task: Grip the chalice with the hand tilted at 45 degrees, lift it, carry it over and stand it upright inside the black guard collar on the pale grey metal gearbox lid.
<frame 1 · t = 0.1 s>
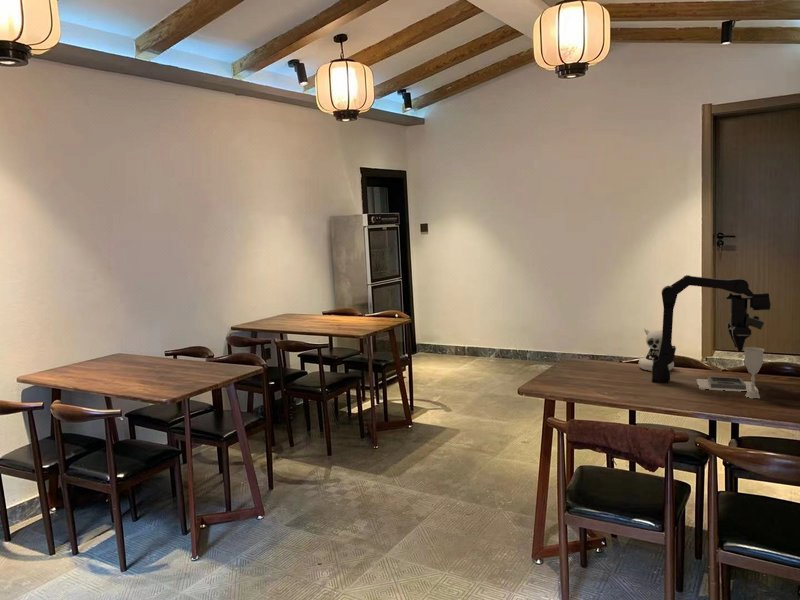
hand: (738, 349, 237), 15 cm above the table, tool pointing down, fingers open, 9 cm apart
decorative figurine: (656, 369, 270), on the table
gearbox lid: (726, 386, 237), on the table
chalice: (752, 397, 222), on the table
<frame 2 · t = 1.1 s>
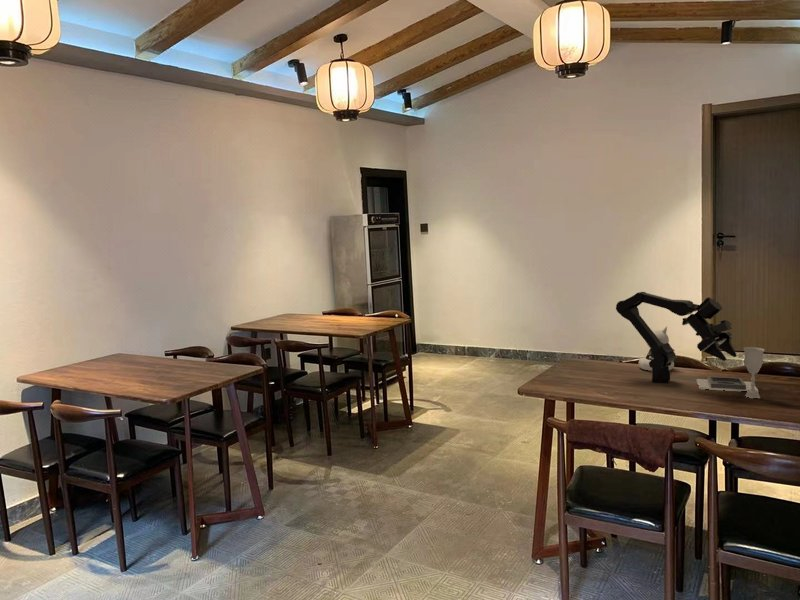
hand: (730, 358, 226), 13 cm above the table, tool tilted 45°, fingers open, 9 cm apart
nothing on the table moved.
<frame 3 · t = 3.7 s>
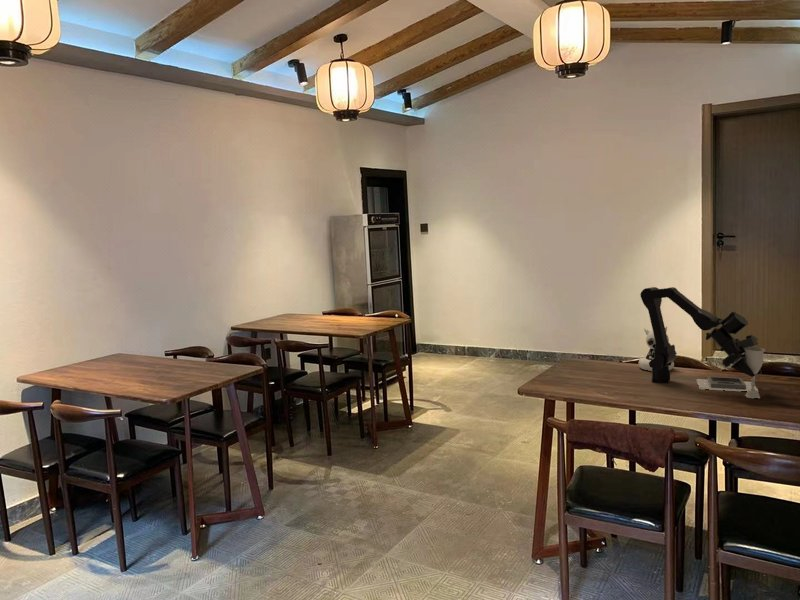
hand: (757, 374, 220), 9 cm above the table, tool tilted 45°, fingers closed on chalice, 6 cm apart
chalice: (752, 397, 222), on the table, touching gripper
everything else where it was.
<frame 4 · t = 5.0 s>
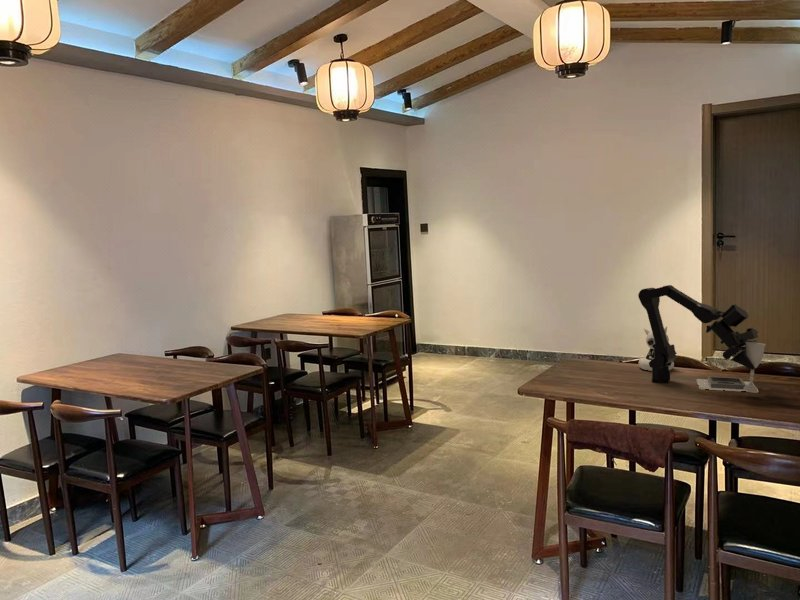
hand: (757, 367, 219), 11 cm above the table, tool tilted 45°, fingers closed on chalice, 6 cm apart
chalice: (750, 391, 221), point 2 cm above the table, touching gripper
everything else where it was.
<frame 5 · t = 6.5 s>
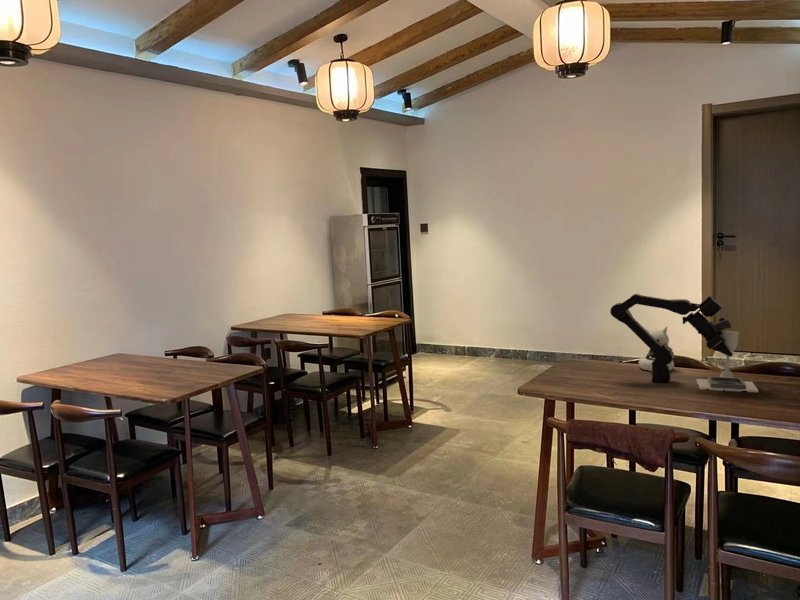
hand: (732, 354, 234), 13 cm above the table, tool tilted 45°, fingers closed on chalice, 6 cm apart
chalice: (726, 377, 235), point 4 cm above the table, touching gripper
everything else where it was.
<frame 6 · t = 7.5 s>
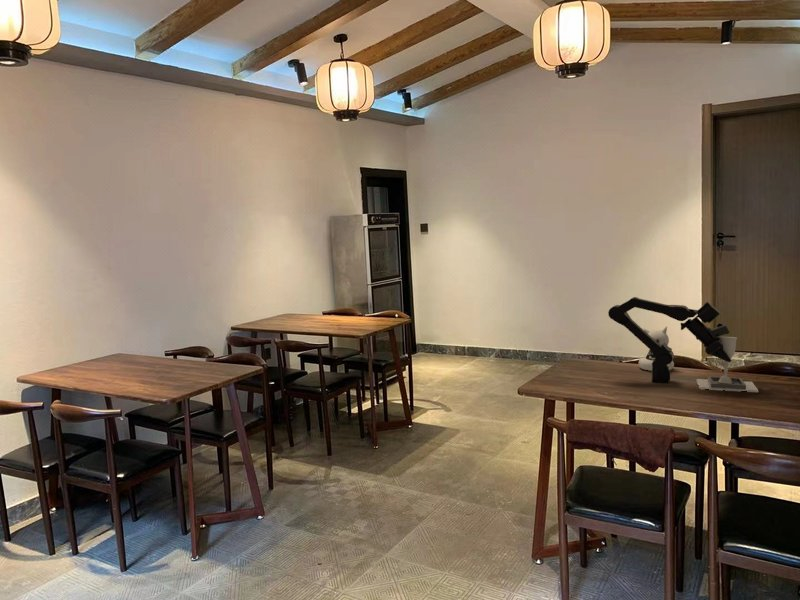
hand: (730, 360, 235), 11 cm above the table, tool tilted 45°, fingers closed on chalice, 6 cm apart
chalice: (725, 383, 236), point 2 cm above the table, touching gripper
everything else where it was.
when the fingers open (11 cm above the table, at t = 8.0 s): chalice moves 2 cm, resting on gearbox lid.
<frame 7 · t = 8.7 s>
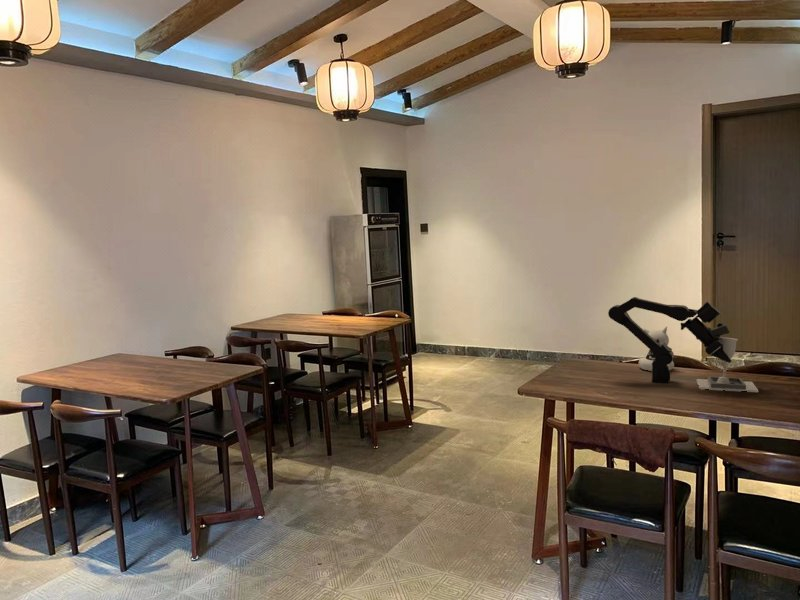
hand: (730, 359, 235), 11 cm above the table, tool tilted 45°, fingers open, 9 cm apart
chalice: (723, 383, 238), point 1 cm above the table, touching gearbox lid, gripper
everything else where it was.
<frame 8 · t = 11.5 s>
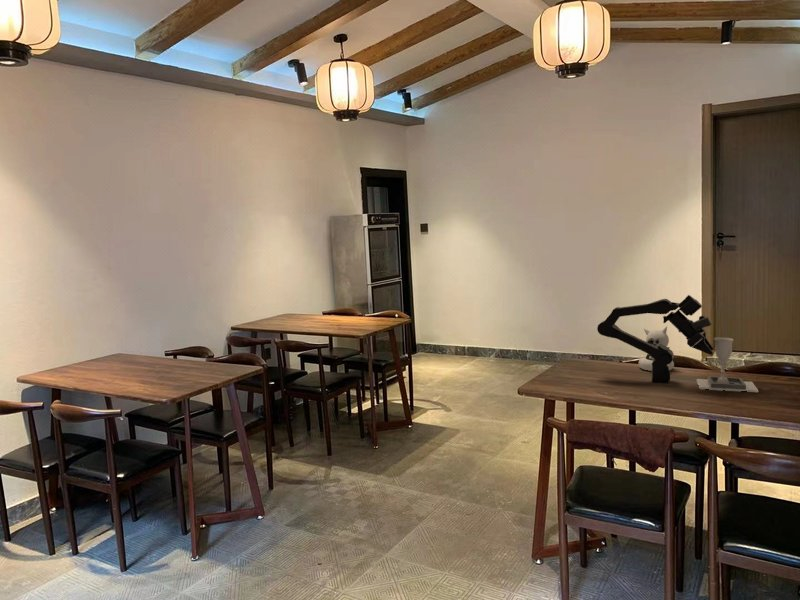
hand: (712, 351, 238), 14 cm above the table, tool tilted 45°, fingers open, 9 cm apart
chalice: (722, 384, 238), point 1 cm above the table, touching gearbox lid
everything else where it was.
at the end: chalice inside the target area on the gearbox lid (1.4 cm from its centre), point 0.7 cm above the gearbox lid's base; chalice tilted 0°; the gripper is holding nothing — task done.
